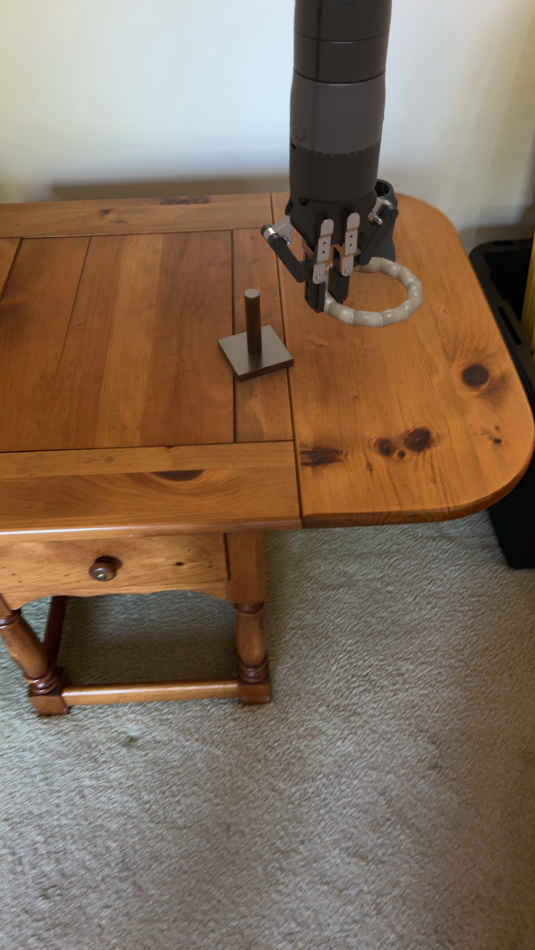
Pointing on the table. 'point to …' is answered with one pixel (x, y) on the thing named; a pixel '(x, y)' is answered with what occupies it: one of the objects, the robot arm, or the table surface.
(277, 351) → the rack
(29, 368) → the table surface
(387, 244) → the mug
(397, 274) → the ring
